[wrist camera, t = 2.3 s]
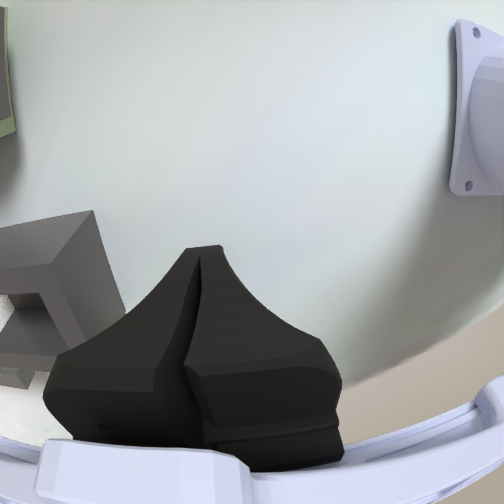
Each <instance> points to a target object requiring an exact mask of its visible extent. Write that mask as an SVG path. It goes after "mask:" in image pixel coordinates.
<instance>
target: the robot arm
mask: <svg viewBox="0 0 504 504" xmlns="http://www.w3.org/2000/svg"><path fill="white" fill-rule="evenodd" d="M455 31H456V46H457V111H456V127H455V139H454V150H453V159H452V167H451V174H450V181H449V188H450V191H451V192H452V193H454V194H455V195H457V196H504V36H503V35H501V34H499V33H497V32H495V31H493V30H491V29H489V28H486V27H484V26H482V25H480V24H477V23H475V22H473V21H470V20H468V19H459V20H457V21H456V23H455ZM473 31H474V33H475V36H474V35H473ZM467 181H468V183H467ZM466 183H467V186H466V187H465V185H466ZM341 390H342V379H341V377H340V373H339V371H338V369H337V367H336V365H335V363H334V361H333V359H332V357H331V356H330V354H329V352H328V351H327V349H326V347H325V346H324V344H323V343H322V342H321V340H320V339H318V338H316V337H314V336H312V335H310V334H307V333H305V332H303V331H301V330H299V329H297V328H295V327H293V326H291V325H290V324H288V323H286V322H285V321H283V320H282V319H280V318H279V317H278V316H276V315H275V314H274V313H272V312H271V311H270V310H268V309H267V308H266V307H265V306H264V305H262V304H261V303H260V302H259V301H258V300H257V299H256V298H255V297H254V296H253V295H252V294H251V293H250V292H249V291H248V290H247V288H246V287H245V286H244V285H243V284H242V282H241V281H240V280H239V278H238V277H237V276H236V274H235V273H234V271H233V270H232V268H231V266H230V265H229V263H228V261H227V259H226V257H225V254H224V251H223V247H222V246H220V245H214V246H204V247H195V248H186V249H185V250H184V252H183V253H182V254H181V255H180V257H179V258H178V259H177V261H176V262H175V263H174V265H173V266H172V267H171V269H170V270H169V271H168V272H167V274H166V275H165V276H164V277H163V279H162V280H161V281H160V282H159V283H158V284H157V286H156V287H155V288H154V289H153V290H152V291H151V292H150V293H149V294H148V295H147V296H146V297H145V298H144V299H143V300H142V301H141V302H140V303H139V304H138V305H137V306H136V307H134V308H133V309H132V310H131V311H130V312H129V313H127V314H126V315H125V316H123V317H122V318H121V319H119V320H118V321H117V322H115V323H114V324H113V325H111V326H110V327H109V328H107V329H105V330H104V331H102V332H101V333H99V334H98V335H96V336H94V337H93V338H91V339H89V340H88V341H86V342H84V343H82V344H80V345H78V346H76V347H74V348H72V349H70V350H68V351H66V352H64V353H62V354H60V355H58V356H57V358H56V360H55V363H54V365H53V368H52V370H51V373H50V375H49V378H48V380H47V383H46V386H45V388H44V391H43V400H44V403H45V405H46V407H47V409H48V410H49V411H50V413H51V414H52V415H53V416H54V417H55V418H56V419H57V421H58V422H59V423H60V424H61V425H62V426H63V427H64V428H65V429H66V430H67V431H68V432H69V433H70V434H71V435H72V436H73V440H71V439H49V440H46V442H45V443H44V445H43V446H42V448H41V447H37V446H33V445H29V444H25V443H22V442H18V441H15V440H11V439H8V438H5V437H1V436H0V504H434V503H436V502H438V501H440V500H442V499H444V498H446V497H448V496H450V495H452V494H454V493H455V492H457V491H459V490H461V489H463V488H464V487H466V486H468V485H470V484H472V483H473V482H475V481H477V480H478V479H480V478H482V477H483V476H485V475H486V474H488V473H490V472H491V471H493V470H494V469H496V468H497V467H499V466H500V465H502V464H503V463H504V374H503V375H501V376H499V377H497V378H495V379H493V380H491V381H490V382H488V383H487V384H485V385H484V386H483V387H482V388H481V389H480V391H479V392H478V393H477V395H476V396H475V399H474V400H472V401H470V402H468V403H465V404H463V405H461V406H459V407H456V408H454V409H452V410H450V411H447V412H445V413H443V414H440V415H438V416H435V417H432V418H430V419H427V420H425V421H422V422H419V423H417V424H414V425H411V426H408V427H405V428H402V429H399V430H396V431H393V432H390V433H387V434H383V435H380V436H376V437H373V438H370V439H366V440H362V441H358V442H354V443H350V444H347V445H343V444H342V440H341V437H340V433H339V430H338V426H339V419H338V416H337V413H336V407H337V404H338V400H339V397H340V393H341Z"/></svg>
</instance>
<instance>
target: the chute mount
mask: <svg viewBox="0 0 504 504" xmlns="http://www.w3.org/2000/svg"><path fill="white" fill-rule="evenodd" d="M35 371H36V370H26V369H17V368H9V367H1V366H0V385H3V386H8V387H14V388H20V389H27V390H28V388H29V385H30V383H31V380H32V378H33V375H34V373H35Z"/></svg>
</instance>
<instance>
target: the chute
mask: <svg viewBox="0 0 504 504" xmlns="http://www.w3.org/2000/svg"><path fill="white" fill-rule="evenodd" d="M0 295H8V297H9V299H10V300H11V302H12V304H13V306H14V308H15V310H14V312H13V313H12V315H11V316H10V318H9V320H8V321H7V323H6V324H5V326H4V328H3V329H2V331H1V333H0V366H1V367H9V368H17V369H26V370H36V371H47V372H51V370H52V368H53V365H54V363H55V360H56V358H57V356H58V355H60V354H62V353H64V352H66V351H68V350H70V349H72V348H74V347H76V346H78V345H80V344H82V343H84V342H86V341H88V340H89V339H91V338H93V337H94V336H96V335H98V334H99V333H101V332H102V331H104V330H105V329H107V328H109V327H110V326H111V325H113V324H114V323H115V322H117V321H118V320H119V319H121V318H122V317H123V316H124V313H125V310H126V309H125V307H124V304H123V302H122V299H121V296H120V294H119V291H118V288H117V285H116V282H115V280H114V277H113V274H112V271H111V268H110V265H109V262H108V259H107V256H106V253H105V249H104V246H103V243H102V240H101V236H100V233H99V230H98V226H97V223H96V219H95V215H94V212H93V210H90V211H84V212H79V213H73V214H67V215H62V216H57V217H51V218H46V219H41V220H36V221H31V222H27V223H22V224H17V225H13V226H8V227H4V228H0Z"/></svg>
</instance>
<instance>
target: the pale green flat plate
mask: <svg viewBox="0 0 504 504" xmlns="http://www.w3.org/2000/svg"><path fill="white" fill-rule="evenodd" d="M13 132H16V127H15V121H14V115H13V108H12V101H11V93H10V83H9V72H8V57H7V7H3V6H0V138H1V137H3V136H6V135H8V134H11V133H13Z"/></svg>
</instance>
